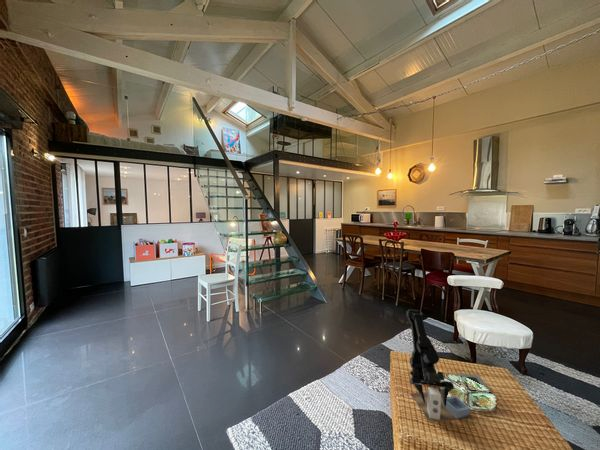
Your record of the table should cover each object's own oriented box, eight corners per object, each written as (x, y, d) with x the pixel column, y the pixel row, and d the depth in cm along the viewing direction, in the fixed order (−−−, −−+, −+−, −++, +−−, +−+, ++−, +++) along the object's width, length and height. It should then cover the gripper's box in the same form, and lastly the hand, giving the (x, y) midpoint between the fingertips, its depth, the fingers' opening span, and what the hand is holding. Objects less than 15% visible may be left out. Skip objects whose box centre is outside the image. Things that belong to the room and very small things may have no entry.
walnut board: (409, 394, 128) (409, 393, 128) (447, 391, 130) (447, 390, 130) (430, 423, 111) (430, 422, 111) (473, 419, 113) (473, 418, 113)
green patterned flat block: (491, 396, 127) (491, 391, 127) (469, 393, 129) (469, 389, 129) (478, 378, 140) (478, 374, 140) (458, 376, 142) (458, 372, 142)
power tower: (426, 410, 117) (427, 386, 116) (436, 411, 116) (437, 388, 115) (429, 418, 113) (430, 394, 112) (439, 420, 112) (441, 395, 111)
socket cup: (442, 405, 120) (442, 398, 120) (454, 401, 122) (455, 395, 122) (456, 418, 113) (457, 411, 112) (469, 414, 115) (470, 407, 114)
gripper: (412, 361, 119) (417, 399, 109) (453, 366, 115) (462, 407, 105) (408, 365, 127) (412, 401, 117) (446, 371, 123) (454, 408, 113)
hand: (434, 404), depth 113 cm, fingers open, 9 cm apart
